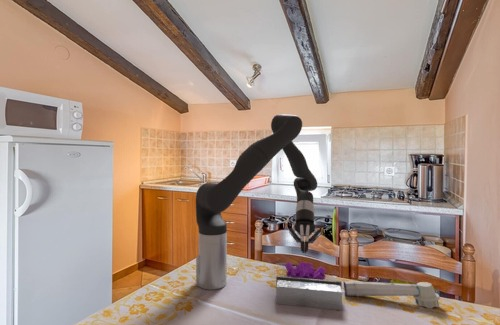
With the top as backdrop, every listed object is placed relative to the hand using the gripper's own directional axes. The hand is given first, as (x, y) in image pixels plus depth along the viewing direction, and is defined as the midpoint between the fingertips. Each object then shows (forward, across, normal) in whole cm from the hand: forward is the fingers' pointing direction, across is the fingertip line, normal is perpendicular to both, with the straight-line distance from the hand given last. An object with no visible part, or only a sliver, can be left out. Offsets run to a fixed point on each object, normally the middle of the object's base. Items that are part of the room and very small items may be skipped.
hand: (304, 252), depth 106 cm
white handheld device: (+18, +25, -8) cm, 31 cm away
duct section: (+22, +1, -13) cm, 26 cm away
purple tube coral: (+14, 0, -4) cm, 15 cm away
